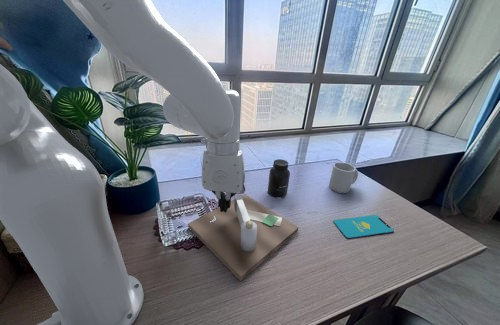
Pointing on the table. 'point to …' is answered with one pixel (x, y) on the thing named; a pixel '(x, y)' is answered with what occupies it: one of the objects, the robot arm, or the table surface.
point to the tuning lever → (245, 225)
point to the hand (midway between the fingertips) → (224, 208)
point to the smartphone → (362, 226)
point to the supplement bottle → (279, 179)
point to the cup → (342, 177)
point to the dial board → (229, 235)
